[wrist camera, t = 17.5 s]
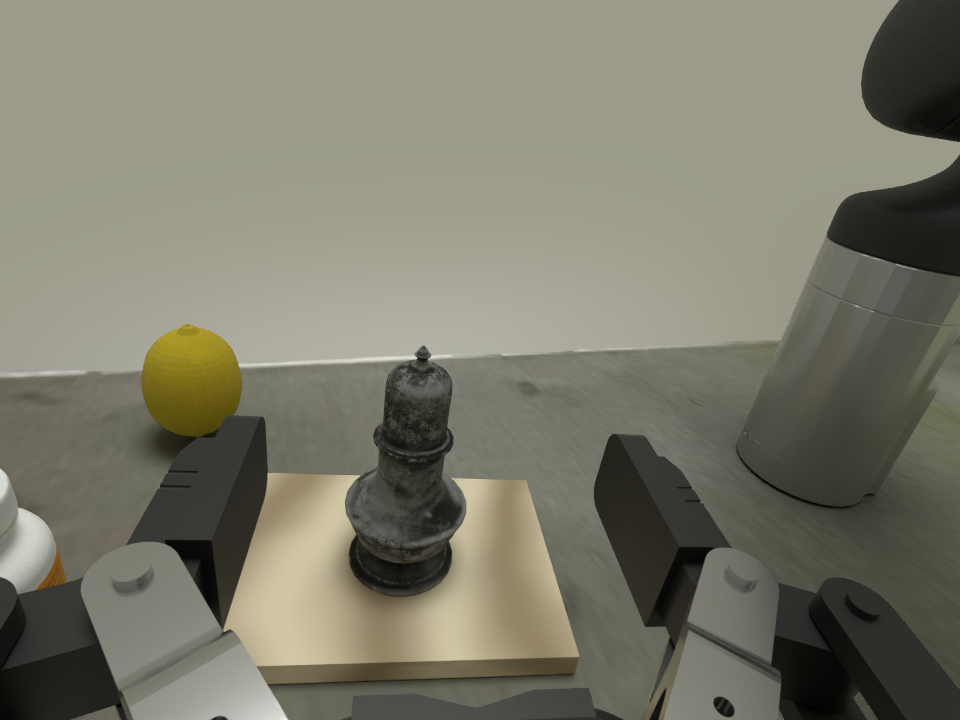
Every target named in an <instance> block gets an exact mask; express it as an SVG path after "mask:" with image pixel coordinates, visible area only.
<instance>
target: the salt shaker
mask: <svg viewBox="0 0 960 720" xmlns="http://www.w3.org/2000/svg"><path fill="white" fill-rule="evenodd" d="M415 356H416V357H417V359H416V360H411V361H407V362H404V363H401V364H399V365H397V366H396V367H395V368H394V369H393V370H392V371H391V372H390V373H389V375H388V378H387V382H386V391H385V404H384V417H383V422H381V423H380V424H379V425H378V426H377V427H376V429H375V431H374V435H373V438H374V443H375V444H376V446H377V447H378V449H379V460H378V467H376V468H374V469H372V470H369V471H367V472H365V473H364V474H362V475H361V476H360V477H359V478H357V479H356V480H355V481H354V482H353V484H352V485H351V486H350V488H349V489H348V491H347V495H346V499H345V509H346V515H347V517H348V519H349V521H350V522H351V524H352V527H353V529H354V531H355V532H356V536H355V537H354V539H353V540H352V542H351V545H350V549H349V564H350V567H351V569H352V571H353V573H354V575H355V577H356V578H357V579H358V580H359V581H360V582H361V583H362V584H363V585H365V586H366V587H368V588H370V589H371V590H373V591H374V592H378V593H381V594H384V595H387V596H397V597H406V596H413V595H418V594H421V593H424V592H426V591H429V590H431V589H432V588H434V587H435V586H436V585H438V584H439V583H441V581H442V580H443V579H444V578H445V576H446V575H447V574H448V572H449V569H450V566H451V564H452V549H451V546H450V543H449V540H450V539H451V538H452V537H453V535H454V533H455V532H456V531H457V530H458V528H459V527H460V526H461V525H462V523H463V520H464V518H465V515H466V499H465V497H464V494H463V491H462V490H461V489H460V487H459V486H458V485H457V484H456V482H455V481H454V480H452V479H451V478H450V477H448V476H447V475H446V474H445V473H443V472H442V471H443V464H444V457H445V455H446V454H447V453H448V452H449V451H450V450H451V448H452V446H453V435H452V433H451V431H450V430H449V429H448V428H447V424H448V416H449V409H450V402H451V395H452V380H451V378H450V376H449V374H448V373H447V371H446V370H445V369H444V368H442V367H440V366H439V365H437V364H435V363H433V362H430V361H428V358H430V357H431V354H430V353H429V352H428V349H426V347H425V346H422V347H421V348H420V349H419V350H418V351H417V352H415Z"/></svg>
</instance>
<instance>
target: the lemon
mask: <svg viewBox="0 0 960 720" xmlns="http://www.w3.org/2000/svg"><path fill="white" fill-rule="evenodd" d="M241 391H242V379H241V373H240V369H239V365H238V362H237V359H236V357H235V355H234V352H233V350H232V349H231V347H230V346H229V345H228V343H227V342H226V341H225V340H223V339H222V338H221V337H220V336H218V335H216V334H215V333H213V332H211V331H208V330H206V329H202V328H196V327H195V326H193V325H190V324H186V325H183V326H181V328H179V329H176V330H173V331H170V332H168V333H166V334H165V335H163V336H162V337H161V338H159V339H158V340H157V341H156V342H155V343H154V344H153V346H151V348H150V349H149V351H148V353H147V355H146V358H145V362H144V366H143V371H142V392H143V397H144V400H145V403H146V406H147V408H148V411H149V412H150V414H151V416H152V417H153V418H154V420H156V421H157V422H158V423H159V424H160V425H161V426H162V427H163V428H165V429H166V430H168V431H170V432H173V433H175V434H178V435H182V436H193V437H195V438H198V437H203V436H204V435H205V434H208V433H211V432H214V431H216V430H218V429H219V428H220V426H221V424H222V422H223V420H224V418H225V417H226V416H227V415H234V413H235V411H236V410H237V407H238V405H239V401H240V397H241Z"/></svg>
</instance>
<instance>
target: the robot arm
mask: <svg viewBox="0 0 960 720" xmlns="http://www.w3.org/2000/svg"><path fill="white" fill-rule="evenodd" d="M861 88H862V97H863V100H864V103H865V106H866V108H867V110H868V111H869V113H870V114H871V116H872V117H873V118H874V119H876V120H877V121H879V122H880V123H881V124H883V125H885V126H887V127H889V128H892V129H894V130H898V131H901V132H905V133H908V134H913V135H920V136H925V137H932V138H938V139H944V140H950V141H957V142H960V0H899V1H898V3H897V4H896V5H895V6H894V8H893V9H892V10H891V11H890V13H889V14H888V16H887V17H886V19H885V20H884V22H883V24H882V25H881V27H880V28H879V30H878V32H877V34H876V36H875V38H874V40H873V42H872V44H871V46H870V49H869V51H868V54H867V56H866V60H865V63H864V67H863V71H862V82H861ZM959 334H960V155H959V156H958V158H957V159H956V160H955V161H954V162H953V164H951V166H949V167H948V168H947V169H945V170H944V171H942V172H940V173H938V174H936V175H934V176H932V177H929V178H927V179H924V180H922V181H918V182H915V183H912V184H908V185H904V186H899V187H894V188H888V189H882V190H874V191H867V192H860V193H857V194H854V195H851V196H849V197H847V198H846V199H845V200H844V201H843V202H842V203H841V204H840V206H839V207H838V209H837V211H836V213H835V216H834V218H833V220H832V222H831V225H830V227H829V229H828V232H827V236H825V239H824V241H823V243H822V246H821V248H820V250H819V253H818V255H817V257H816V260H815V262H814V264H813V267H812V269H811V271H810V274H809V276H808V279H807V281H806V283H805V286H804V288H803V290H802V293H801V295H800V297H799V300H798V302H797V304H796V306H795V309H794V311H793V313H792V316H791V318H790V320H789V323H788V325H787V327H786V330H785V332H784V335H783V337H782V339H781V341H780V344H779V346H778V348H777V351H776V353H775V355H774V358H773V360H772V362H771V365H770V367H769V369H768V372H767V374H766V376H765V379H764V381H763V383H762V386H761V388H760V390H759V392H758V395H757V397H756V399H755V402H754V404H753V406H752V409H751V411H750V414H749V416H748V418H747V421H746V423H745V425H744V428H743V430H742V432H741V435H740V437H739V439H738V442H737V450H738V452H739V455H740V457H741V458H742V459H743V461H744V462H745V464H746V465H747V466H748V467H749V468H750V469H752V470H753V471H754V472H755V473H756V474H757V475H759V476H760V477H761V478H763V479H764V480H765V481H767V482H769V483H770V484H772V485H774V486H775V487H777V488H779V489H781V490H783V491H785V492H787V493H789V494H791V495H794V496H796V497H799V498H801V499H804V500H807V501H811V502H814V503H818V504H823V505H829V506H850V505H855V504H856V503H858V502H860V501H861V500H862V498H863V497H864V495H865V494H876V493H877V491H878V490H879V488H880V486H881V485H882V483H883V481H884V480H885V478H886V476H887V475H888V473H889V471H890V470H891V468H892V466H893V465H894V463H895V461H896V460H897V458H898V456H899V455H900V453H901V451H902V450H903V448H904V446H905V445H906V443H907V441H908V440H909V438H910V436H911V435H912V433H913V431H914V429H915V428H916V426H917V424H918V423H919V421H920V419H921V418H922V416H923V414H924V413H925V411H926V409H927V408H928V406H929V404H930V403H931V401H932V399H933V398H934V396H935V394H936V393H937V391H938V388H939V386H938V383H937V381H936V380H934V377H935V375H936V374H937V372H938V370H939V368H940V367H941V365H942V363H943V362H944V360H945V358H946V357H947V355H948V353H949V351H950V350H951V348H952V346H953V345H954V343H955V341H956V340H957V338H958V336H959ZM267 479H268V467H267V448H266V429H265V420H264V418H263V417H256V416H234V415H227V416H226V417H225V418H224V420H223V422H222V424H221V426H220V428H219V430H218V432H217V434H216V436H215V438H203V437H198V438H196V439H195V440H194V441H193V442H191V443H190V444H189V445H187V446H186V447H185V448H184V449H182V450H181V451H180V452H179V453H178V454H177V456H176V458H175V460H174V461H173V463H172V465H171V467H170V469H169V472H168V474H166V476H165V477H164V479H163V481H162V483H161V484H160V489H158V490H157V491H156V493H155V495H154V497H153V499H152V500H151V502H150V504H149V506H148V507H147V509H146V511H145V513H144V514H143V516H142V518H141V520H140V522H139V523H138V525H137V527H136V529H135V530H134V532H133V534H132V536H131V537H130V539H129V541H128V543H127V544H126V546H123V547H120V548H118V549H116V550H114V551H112V552H110V553H108V554H106V555H105V556H103V557H102V558H101V559H99V560H98V561H97V562H96V563H95V564H94V565H93V566H92V567H91V568H90V569H89V570H88V571H87V573H86V575H85V576H84V577H83V578H80V579H78V580H75V581H71V582H68V583H64V584H60V585H55V586H51V587H47V588H43V589H38V590H34V591H30V592H25V593H21V594H18V593H17V591H16V588H15V586H14V585H13V584H12V582H10V581H9V580H7V579H5V578H2V577H0V720H70V719H73V718H76V717H79V716H83V715H86V714H89V713H92V712H95V711H98V710H101V709H104V708H107V707H110V706H113V705H114V707H115V709H116V712H117V715H118V717H119V720H288V718H287V717H286V715H285V713H284V712H283V710H282V708H281V707H280V705H279V703H278V702H277V700H276V698H275V697H274V695H273V693H272V692H271V690H270V688H269V687H268V685H267V683H266V682H265V680H264V678H263V677H262V675H261V673H260V672H259V670H258V668H257V667H256V665H255V663H254V662H253V660H252V658H251V657H250V655H249V653H248V652H247V650H246V648H245V647H244V645H243V643H242V642H241V640H240V639H239V637H238V636H237V635H236V633H235V632H234V631H232V630H231V629H229V630H227V631H226V632H224V631H223V629H224V626H225V623H226V620H227V617H228V614H229V610H230V607H231V604H232V601H233V598H234V594H235V591H236V588H237V585H238V582H239V579H240V575H241V572H242V569H243V566H244V563H245V560H246V556H247V553H248V550H249V547H250V544H251V541H252V537H253V534H254V531H255V528H256V525H257V522H258V518H259V515H260V512H261V509H262V506H263V503H264V499H265V495H266V489H267ZM594 501H595V506H596V509H597V512H598V514H599V517H600V519H601V521H602V524H603V526H604V529H605V531H606V533H607V536H608V538H609V541H610V543H611V545H612V548H613V550H614V553H615V555H616V558H617V560H618V562H619V565H620V567H621V570H622V572H623V574H624V577H625V579H626V582H627V584H628V586H629V589H630V591H631V594H632V596H633V598H634V601H635V603H636V606H637V608H638V611H639V613H640V615H641V618H642V620H643V623H644V625H645V627H660V626H666V629H667V631H668V633H669V635H670V636H669V638H668V640H667V642H666V644H665V647H664V650H663V653H662V656H661V659H660V662H659V666H658V669H657V672H656V675H655V678H654V681H653V684H652V687H651V691H650V694H649V697H648V700H647V703H646V706H645V709H644V712H643V715H642V718H641V720H778V711H779V710H780V712H781V714H782V716H783V718H784V720H867V719H866V718H865V716H864V714H863V713H862V711H861V710H860V708H859V707H858V705H857V703H856V702H855V700H854V699H853V698H854V697H855V695H856V694H857V693H858V692H859V691H860V692H861V694H862V695H863V697H864V699H865V700H866V702H867V703H868V705H869V706H870V708H871V709H872V711H873V712H874V714H875V715H876V717H877V718H878V720H960V690H959V689H958V687H957V686H956V685H955V684H954V683H953V681H952V680H951V679H950V678H949V676H948V675H947V674H946V673H945V671H944V670H943V669H942V668H941V667H940V665H939V664H938V663H937V662H936V660H935V659H934V658H933V657H932V655H931V654H930V653H929V652H928V651H927V649H926V648H925V647H924V646H923V644H922V643H921V642H920V641H919V639H918V638H917V637H916V636H915V635H914V633H913V632H912V631H911V630H910V628H909V627H908V626H907V625H906V623H905V622H904V621H903V620H902V619H901V617H900V616H899V615H898V614H897V612H896V611H895V610H894V609H893V608H892V607H891V605H890V604H889V603H888V602H887V601H885V600H884V599H883V598H882V597H881V596H880V595H878V594H877V593H875V592H874V591H872V590H871V589H869V588H867V587H866V586H864V585H862V584H860V583H857V582H855V581H852V580H849V579H845V578H830V579H827V580H825V581H824V582H823V583H822V585H821V587H820V588H819V590H818V591H817V593H813V592H809V591H806V590H802V589H798V588H795V587H791V586H787V585H784V584H780V583H777V581H776V579H775V577H774V576H773V574H772V573H771V572H770V570H769V569H768V568H767V567H766V566H765V565H764V564H762V563H761V562H760V561H759V560H757V559H756V558H754V557H752V556H751V555H749V554H747V553H745V552H742V551H740V550H736V549H732V548H731V546H730V545H729V543H728V542H727V540H726V539H725V537H724V536H723V534H722V533H721V531H720V529H719V528H718V526H717V525H716V523H715V522H714V520H713V519H712V517H711V516H710V514H709V513H708V511H707V510H706V508H705V507H704V505H703V503H700V499H699V497H698V496H697V494H696V493H695V491H694V490H692V487H691V485H690V484H689V482H688V481H687V479H686V478H685V476H684V474H683V473H682V471H681V470H679V469H678V468H677V467H676V466H675V465H673V464H672V463H671V462H670V461H669V460H667V459H666V458H665V457H658V456H657V454H656V453H655V451H654V449H653V448H652V446H651V444H650V443H649V441H648V440H647V438H646V437H645V436H643V435H626V434H612V435H611V436H610V437H609V439H608V442H607V445H606V448H605V452H604V455H603V458H602V462H601V465H600V468H599V471H598V475H597V478H596V481H595V486H594ZM342 720H623V719H621V718H619V717H617V716H615V715H613V714H610V713H608V712H605V711H602V710H599V709H595V708H594V706H593V702H592V699H591V695H590V692H589V688H571V689H543V690H532V691H529V692H526V693H522V694H519V695H516V696H513V697H510V698H507V699H504V700H501V701H498V702H495V703H492V704H489V705H486V706H483V707H477V708H474V707H468V706H464V705H459V704H455V703H451V702H447V701H442V700H438V699H434V698H429V697H425V696H421V695H416V694H399V695H370V696H353V705H352V716H351V717H348V718H345V719H342Z"/></svg>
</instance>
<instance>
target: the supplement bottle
mask: <svg viewBox="0 0 960 720" xmlns="http://www.w3.org/2000/svg"><path fill="white" fill-rule="evenodd" d="M0 577H2V578H5V579H7V580H9V581H10V582H12V584H13V585H14V586H15V588H16V591H17V593H18V594H21V593H25V592H30V591H34V590H38V589H43V588H47V587H51V586H55V585H60V584H64V583H67V581H66V578H65V574H64V570H63V567H62V563H61V560H60V557H59V553H58V550H57V546H56V543H55V541H54V538H53V535H52V533H51V531H50V529H49V527H48V526H47V525H46V523H45V522H44V521H43V520H42V519H40V518H39V517H38V516H36V515H34V514H33V513H31V512H29V511H27V510H24V509H21V508H18V505H17V500H16V497H15V494H14V492H13V489H12V486H11V483H10V481H9V478H8V476H7V475H6V474H5V473H4V471H2V470H1V469H0Z"/></svg>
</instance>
